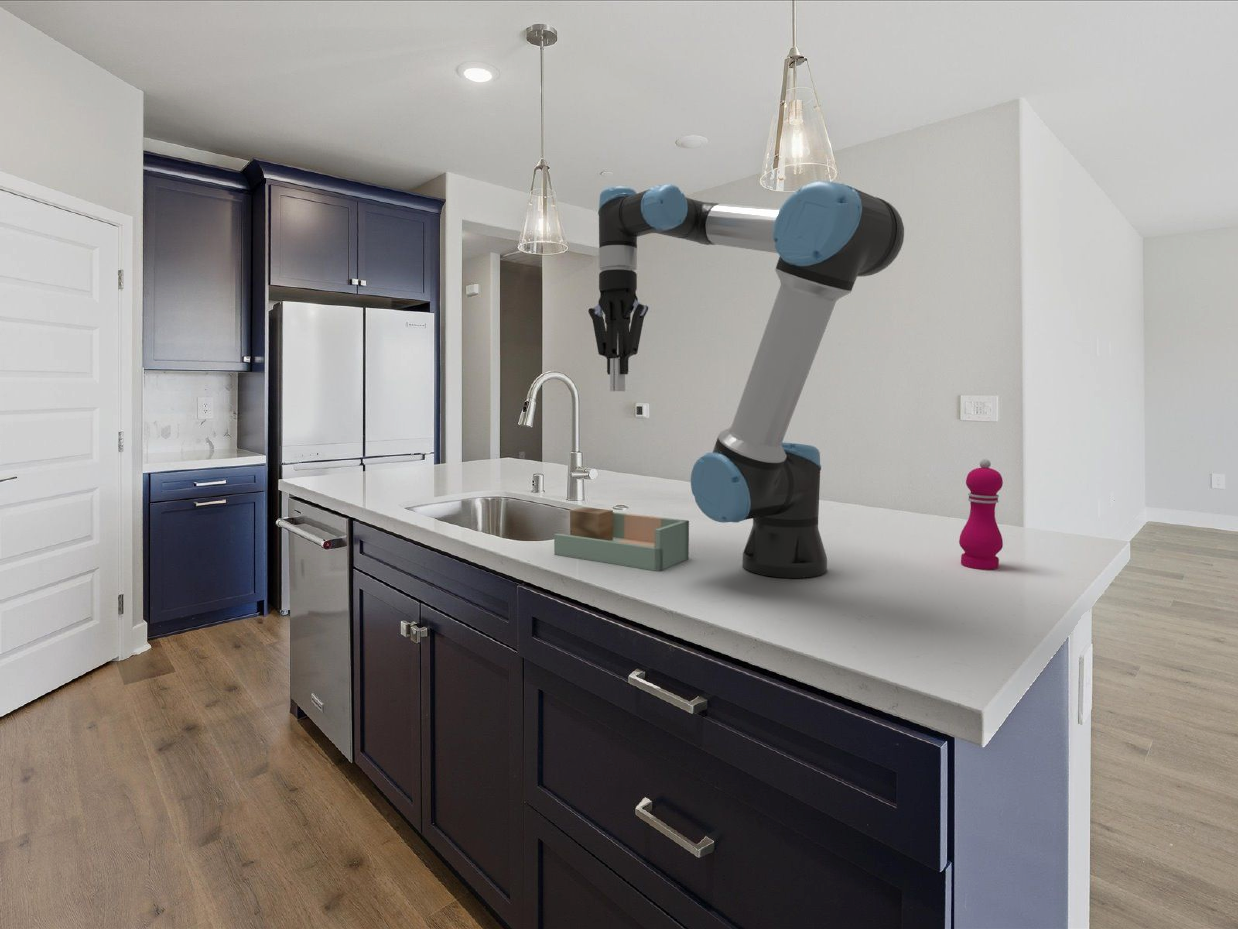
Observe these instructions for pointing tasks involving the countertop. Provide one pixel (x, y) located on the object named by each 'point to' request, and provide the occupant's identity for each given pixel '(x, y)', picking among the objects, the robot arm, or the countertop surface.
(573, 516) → the block
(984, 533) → the pepper mill
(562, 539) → the green open tray
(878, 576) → the countertop surface
